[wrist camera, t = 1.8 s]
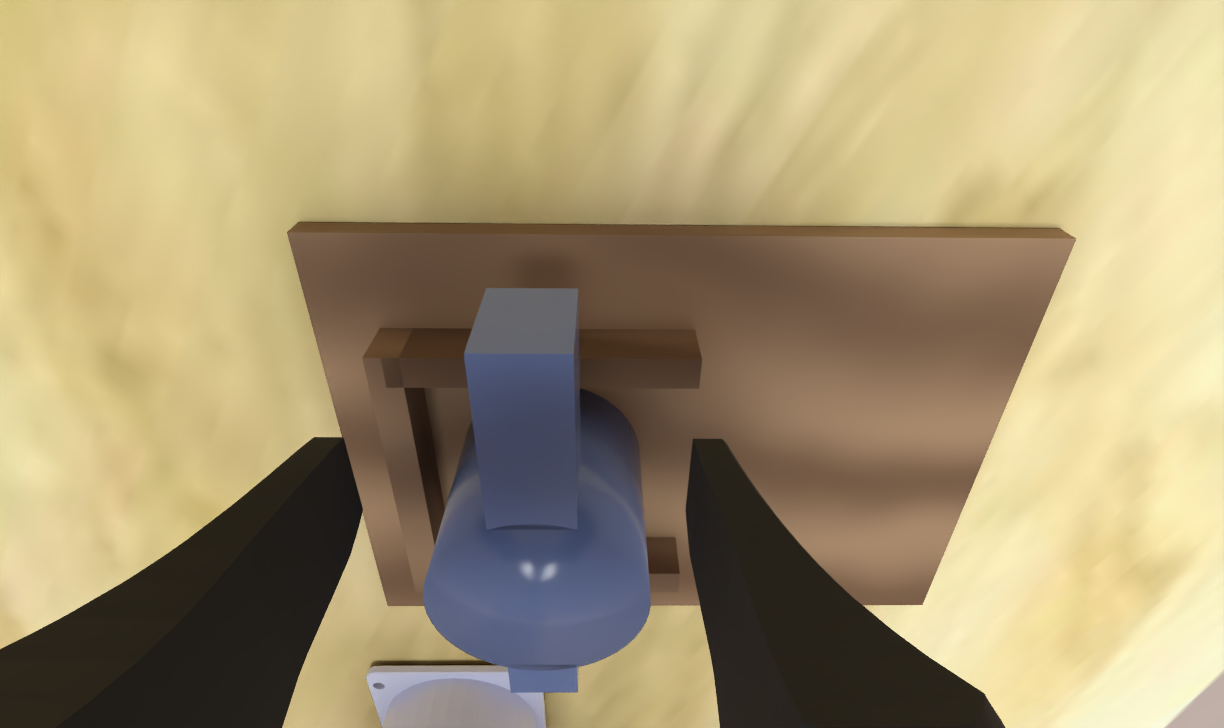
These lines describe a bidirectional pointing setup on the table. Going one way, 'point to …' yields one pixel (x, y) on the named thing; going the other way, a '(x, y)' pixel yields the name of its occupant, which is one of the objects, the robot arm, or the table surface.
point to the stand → (698, 371)
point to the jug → (539, 504)
